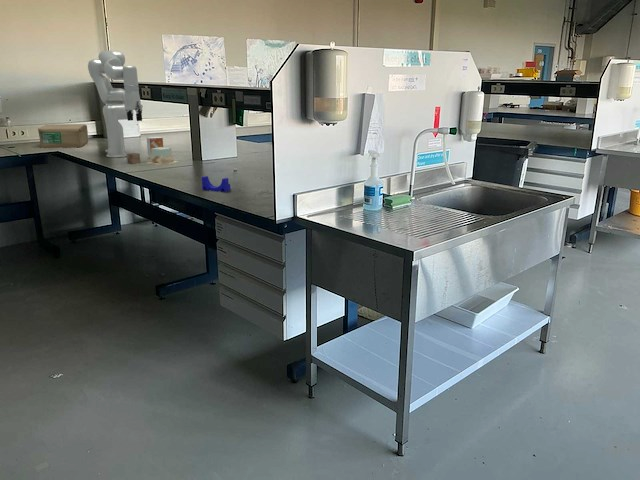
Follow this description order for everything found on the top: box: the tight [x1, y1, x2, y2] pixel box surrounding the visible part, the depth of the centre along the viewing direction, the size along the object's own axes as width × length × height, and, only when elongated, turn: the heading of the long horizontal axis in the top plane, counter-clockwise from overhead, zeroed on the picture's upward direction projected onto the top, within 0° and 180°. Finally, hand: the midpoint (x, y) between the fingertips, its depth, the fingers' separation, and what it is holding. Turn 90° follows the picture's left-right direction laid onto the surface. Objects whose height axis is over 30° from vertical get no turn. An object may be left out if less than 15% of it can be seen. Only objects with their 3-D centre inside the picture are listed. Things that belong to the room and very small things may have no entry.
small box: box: [146, 136, 164, 159], centre depth 319 cm, size 8×6×13 cm
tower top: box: [151, 146, 173, 157], centre depth 304 cm, size 8×8×4 cm
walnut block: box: [126, 152, 141, 165], centre depth 300 cm, size 5×5×6 cm
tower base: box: [149, 154, 175, 164], centre depth 305 cm, size 9×9×4 cm
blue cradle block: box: [201, 175, 231, 193], centre depth 239 cm, size 12×4×6 cm, turn 70°
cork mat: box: [145, 160, 180, 166], centre depth 306 cm, size 14×14×1 cm
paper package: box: [37, 123, 89, 149], centre depth 368 cm, size 27×26×14 cm
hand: (134, 120), depth 298 cm, fingers open, 9 cm apart
